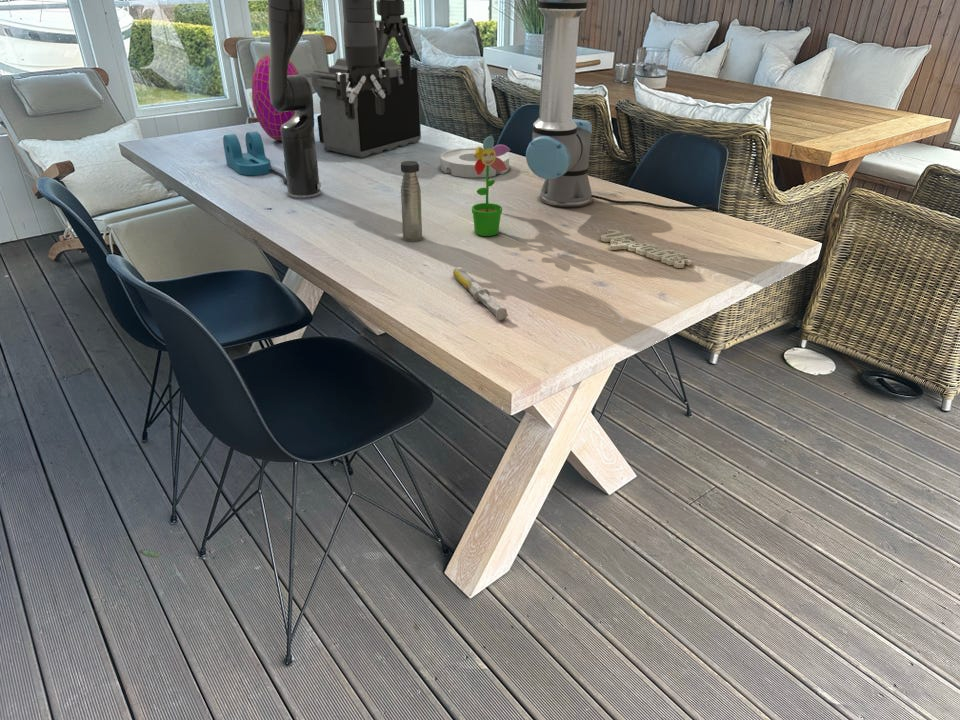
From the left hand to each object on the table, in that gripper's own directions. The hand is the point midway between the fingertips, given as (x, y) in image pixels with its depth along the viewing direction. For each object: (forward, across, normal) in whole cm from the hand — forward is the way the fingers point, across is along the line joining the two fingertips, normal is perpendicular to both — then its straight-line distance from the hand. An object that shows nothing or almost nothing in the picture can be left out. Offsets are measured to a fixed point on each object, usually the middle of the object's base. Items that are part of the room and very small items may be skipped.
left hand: (365, 116), depth 165 cm
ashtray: (+29, -62, -25) cm, 72 cm away
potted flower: (+28, -20, +22) cm, 41 cm away
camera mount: (+29, -6, -75) cm, 81 cm away
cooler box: (+29, -55, -73) cm, 96 cm away
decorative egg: (+30, -36, -103) cm, 113 cm away
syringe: (+28, +9, +48) cm, 57 cm away
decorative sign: (+28, -38, +57) cm, 74 cm away
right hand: (-2, -28, -24) cm, 37 cm away
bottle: (+28, -3, +12) cm, 31 cm away
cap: (+10, -4, +12) cm, 16 cm away
